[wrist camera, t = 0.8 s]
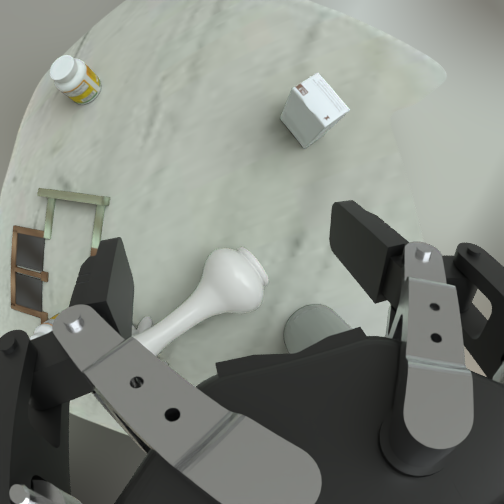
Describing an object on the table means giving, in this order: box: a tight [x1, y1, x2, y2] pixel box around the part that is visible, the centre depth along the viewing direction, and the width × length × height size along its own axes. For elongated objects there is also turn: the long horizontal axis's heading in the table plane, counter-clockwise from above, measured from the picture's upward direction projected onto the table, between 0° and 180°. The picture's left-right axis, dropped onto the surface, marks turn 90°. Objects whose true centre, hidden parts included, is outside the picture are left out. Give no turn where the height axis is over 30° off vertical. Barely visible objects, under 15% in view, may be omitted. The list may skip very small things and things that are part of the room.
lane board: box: [11, 188, 110, 324], centre depth 42 cm, size 25×18×3 cm
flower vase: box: [132, 247, 269, 366], centre depth 40 cm, size 13×18×25 cm
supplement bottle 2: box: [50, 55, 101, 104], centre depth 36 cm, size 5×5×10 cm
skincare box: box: [280, 72, 350, 148], centre depth 38 cm, size 6×4×12 cm
